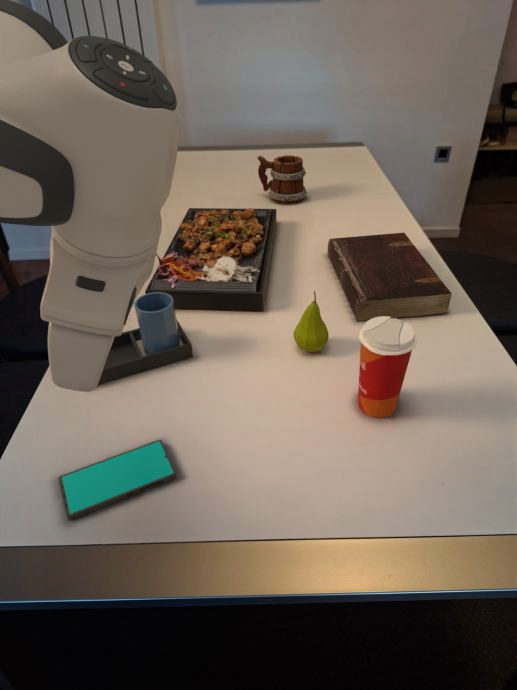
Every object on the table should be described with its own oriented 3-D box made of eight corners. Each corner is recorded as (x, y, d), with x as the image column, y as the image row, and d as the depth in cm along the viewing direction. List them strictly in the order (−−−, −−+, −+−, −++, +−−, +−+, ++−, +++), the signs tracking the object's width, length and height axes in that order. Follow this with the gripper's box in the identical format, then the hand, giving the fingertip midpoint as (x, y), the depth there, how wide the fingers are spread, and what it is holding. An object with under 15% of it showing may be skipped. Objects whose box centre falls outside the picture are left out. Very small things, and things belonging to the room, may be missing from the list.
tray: (92, 387, 86) (88, 373, 84) (84, 356, 93) (80, 343, 91) (193, 357, 92) (191, 344, 90) (178, 331, 99) (176, 318, 97)
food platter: (262, 311, 103) (261, 267, 97) (148, 308, 105) (139, 265, 99) (276, 223, 139) (276, 187, 133) (190, 222, 141) (186, 187, 135)
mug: (310, 204, 149) (302, 154, 140) (263, 212, 151) (253, 163, 143) (309, 190, 158) (302, 142, 150) (265, 198, 161) (256, 151, 152)
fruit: (300, 361, 90) (302, 305, 83) (289, 342, 95) (290, 287, 88) (333, 354, 91) (337, 299, 84) (320, 336, 96) (324, 282, 89)
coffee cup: (364, 381, 85) (374, 308, 76) (410, 400, 81) (426, 325, 72) (341, 410, 80) (349, 335, 71) (389, 431, 76) (404, 354, 67)
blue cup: (149, 362, 90) (139, 316, 84) (139, 342, 95) (130, 297, 89) (184, 351, 92) (178, 306, 86) (173, 332, 97) (166, 288, 91)
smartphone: (57, 476, 69) (160, 439, 74) (59, 480, 70) (161, 442, 75) (66, 517, 64) (176, 474, 69) (68, 521, 65) (177, 478, 70)
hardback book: (327, 256, 123) (328, 237, 120) (401, 251, 124) (404, 232, 121) (355, 321, 100) (358, 300, 97) (446, 314, 101) (451, 293, 98)
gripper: (96, 168, 49) (88, 265, 60) (32, 324, 37) (36, 412, 47) (158, 186, 51) (140, 278, 61) (118, 342, 38) (104, 424, 49)
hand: (95, 338), depth 54 cm, fingers open, 8 cm apart
